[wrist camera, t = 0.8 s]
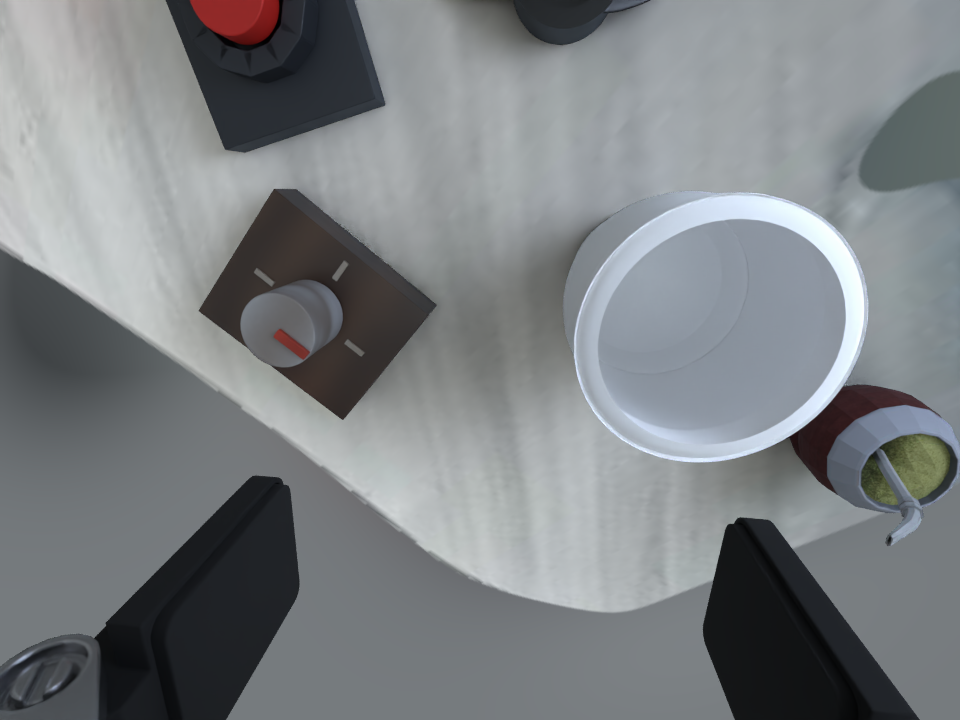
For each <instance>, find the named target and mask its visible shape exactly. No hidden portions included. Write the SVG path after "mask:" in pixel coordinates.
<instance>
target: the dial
mask: <svg viewBox="0 0 960 720" xmlns="http://www.w3.org/2000/svg"><path fill="white" fill-rule="evenodd" d="M342 321H343V313H342V308H341V305H340V302H339V300H338V299H337V297H336V296H335V294H334V293H333V292H332V291H331V290H330V289H329V288H328V287H326V286H325V285H323V284H321V283H319V282H316V281H313V280H298V281H295V282H292V283H290V284H287V285H284V286H282V287H279V288H277V289H274V290H271V291H269V292H266V293H263V294H261V295H258V296H256V297H255V298H253V299H252V300H251V301H250V302H249V303H248V304H247V305H246V307H245V308H244V310H243V313H242V316H241V323H240V326H241V333H242V337H243V339H244V342H245V344H246V345H247V347H248V348H249V350H250V351H251V352H252V353H253V354H254V355H255V356H256V357H257V358H258V359H260V360H261V361H263V362H265V363H267V364H269V365H272V366H276V367H292V366H296V365H298V364H300V363H302V362H303V361H305V360H306V359H307V358H309V357H310V356H311V355H313V354H314V353H315V352H317V351H318V350H319V349H321V348H322V347H323V346H325V345H326V344H327V343H329V342H330V341H331V340H333V339H334V338H335V337H336V336H337V334H338V333H339V331H340V329H341V326H342Z"/></svg>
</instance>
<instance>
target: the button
mask: <svg viewBox="0 0 960 720" xmlns="http://www.w3.org/2000/svg"><path fill="white" fill-rule="evenodd" d="M190 2H191V5H192V7H193V9H194V11H195V13H196V14H197V16H198V17H199V19H200V20H201V21H202V22H203V23H204V24H205V25H206V26H207V27H208V28H209V29H211V30H212V31H214V32H216V33H218V34H220V35H222V36H224V37H225V38H227V39H229V40H231V41H233V42H235V43H238V44H242V45H253V44H257V43H259V42H261V41H263V40H265V39H266V38H267V37H268V36H269V35H270V34H271V33H272V31H273V30H274V28H275V26H276V23H277V20H278V16H279V0H190Z"/></svg>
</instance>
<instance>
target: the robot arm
mask: <svg viewBox="0 0 960 720" xmlns="http://www.w3.org/2000/svg"><path fill="white" fill-rule="evenodd" d="M298 591H299V572H298V562H297V552H296V542H295V533H294V523H293V513H292V503H291V493H290V488H289V486H287V485H283V481H282V479H280V478H277V477H266V476H252V477H251V478H249V479H248V480H247V481H246V482H245V483H244V484H243V485H242V486H241V488H239V489H238V491H236V492H235V493H234V495H232V496H231V497H230V498H229V500H227V501H226V502H225V503H224V505H222V506H221V507H220V508H219V510H217V511H216V513H215V514H213V516H212V517H211V518H210V519H209V520H208V521H207V522H206V523H205V524H204V525H203V526H202V527H201V528H200V529H199V530H198V531H197V532H196V533H195V534H194V535H193V536H192V537H191V538H190V539H189V540H188V541H187V542H186V543H185V544H184V545H183V546H182V547H181V548H180V549H179V550H178V551H177V552H176V553H175V554H174V555H173V556H172V557H171V558H170V559H169V560H168V561H167V562H166V563H165V564H164V565H163V566H162V567H161V568H160V569H159V570H158V571H157V572H156V573H155V574H154V575H153V576H152V577H151V578H150V579H149V580H148V581H147V582H146V583H145V584H144V585H143V586H142V587H141V588H140V589H139V590H138V591H137V592H136V593H135V594H134V595H133V596H132V597H131V598H130V599H129V600H128V601H127V602H126V603H125V604H124V605H123V606H122V607H121V608H120V609H119V610H118V611H117V612H116V613H115V614H114V615H113V616H112V617H111V618H110V619H109V620H108V621H107V622H106V627H105V628H104V629H103V630H102V631H101V632H100V633H99V634H98V635H97V636H96V637H95V638H93V637H91V636H88V635H83V634H68V635H61V636H58V637H54V638H50V639H47V640H45V641H42V642H40V643H38V644H35V645H33V646H31V647H29V648H27V649H25V650H23V651H22V652H20V653H19V654H17V655H15V656H14V657H12V658H10V659H9V660H8V661H7V662H5V663H4V664H3V665H2V666H0V720H226V719H227V717H228V715H229V714H230V712H231V710H232V709H233V707H234V705H235V703H236V702H237V700H238V698H239V697H240V695H241V693H242V691H243V690H244V688H245V686H246V684H247V683H248V681H249V679H250V677H251V676H252V674H253V672H254V670H255V669H256V667H257V665H258V664H259V662H260V660H261V659H262V657H263V655H264V653H265V652H266V650H267V648H268V647H269V645H270V643H271V641H272V640H273V638H274V636H275V634H276V633H277V631H278V629H279V628H280V626H281V624H282V622H283V621H284V619H285V617H286V616H287V614H288V612H289V610H290V609H291V607H292V605H293V604H294V602H295V600H296V598H297V595H298ZM703 636H704V641H705V645H706V647H707V650H708V652H709V655H710V657H711V660H712V662H713V665H714V668H715V670H716V673H717V675H718V678H719V680H720V683H721V685H722V688H723V690H724V693H725V696H726V698H727V701H728V703H729V706H730V708H731V711H732V713H733V716H734V718H735V720H919V718H918V717H917V716H916V714H915V713H914V712H913V710H912V709H911V708H910V706H909V705H908V704H907V702H906V701H905V699H904V698H903V697H902V696H901V694H900V693H899V691H898V690H897V689H896V687H895V686H894V685H893V683H892V682H891V681H890V679H889V678H888V677H887V675H886V674H885V673H884V671H883V670H882V669H881V667H880V666H879V665H878V663H877V662H876V661H875V659H874V658H873V657H872V655H871V654H870V653H869V651H868V650H867V649H866V647H865V646H864V644H863V643H862V642H861V641H860V639H859V638H858V636H857V635H856V634H855V632H854V631H853V630H852V629H851V627H850V626H849V624H848V623H847V622H846V620H845V619H844V618H843V616H842V615H841V614H840V612H839V611H838V610H837V608H836V607H835V606H834V605H833V603H832V602H831V600H830V599H829V598H828V596H827V595H826V594H825V592H824V591H823V590H822V588H821V587H820V586H819V584H818V583H817V582H816V580H815V579H814V577H813V576H812V575H811V573H810V572H809V571H808V569H807V568H806V567H805V565H804V564H803V563H802V561H801V560H800V559H799V557H798V556H797V555H796V553H795V552H794V551H793V549H792V548H791V547H790V545H789V544H788V543H787V541H786V540H785V539H784V537H783V536H782V535H781V533H780V532H779V531H778V529H777V528H776V527H775V525H774V524H773V523H772V522H771V521H769V520H764V519H753V518H741V517H740V518H737V520H736V521H735V523H734V524H728V525H727V527H726V529H725V533H724V538H723V542H722V546H721V550H720V555H719V559H718V563H717V568H716V572H715V576H714V581H713V585H712V589H711V593H710V598H709V602H708V606H707V611H706V615H705V620H704V624H703Z"/></svg>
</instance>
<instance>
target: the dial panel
mask: <svg viewBox="0 0 960 720" xmlns="http://www.w3.org/2000/svg"><path fill="white" fill-rule="evenodd" d="M298 280H313V281H316V282H319V283H321V284H323V285H325V286H326V287H328V288H329V289H330V290H331V291H332V292H333V293H334V294H335V296H336V297H337V299H338V300H339V302H340V305H341V308H342V313H343V321H342V326H341V329H340V331H339V333H338V334H337V336H336V337H335V338H334V339H333V340H331V341H330V342H329V343H327V344H326V345H325V346H323V347H322V348H321V349H319V350H318V351H317V352H315V353H314V354H313V355H311V356H310V357H309V358H307V359H306V360H305V361H303V362H302V363H300V364H298V365H296V366H292V367H276V366H272V365H271V366H272V367H273V368H275V369H276V370H277V371H279V372H280V373H281V374H283V375H284V376H285V377H287V378H288V379H289V380H291V381H292V382H293V383H295V384H296V385H297V386H298V387H300V388H301V389H302V390H304V391H305V392H306V393H308V394H309V395H310V396H312V397H313V398H314V399H316V400H317V401H318V402H320V403H321V404H322V405H324V406H325V407H326V408H328V409H329V410H330V411H332V412H333V413H334V414H335V415H337V416H338V417H339V418H341V419H342V420H344V418H345V417H346V416H347V415H348V413H349V412H350V411H351V410H352V409H353V407H354V406H355V405H356V404H357V402H358V401H359V400H360V399H361V398H362V396H363V395H364V394H365V393H366V391H367V390H368V389H369V388H370V387H371V385H372V384H373V383H374V382H375V380H376V379H377V378H378V377H379V376H380V374H381V373H382V372H383V371H384V369H385V368H386V367H387V366H388V364H389V363H390V362H391V361H392V360H393V358H394V357H395V356H396V355H397V353H398V352H399V351H400V350H401V349H402V347H403V346H404V345H405V344H406V342H407V341H408V340H409V339H410V337H411V336H412V335H413V334H414V333H415V331H416V330H417V329H418V328H419V326H420V325H421V324H422V323H423V322H424V320H425V319H426V318H427V317H428V315H429V314H430V313H431V312H432V311H433V309H434V308H435V307H436V304H435V303H434V302H432V301H431V300H430V299H429V298H427V297H426V296H425V295H424V294H423V293H421V292H420V291H419V290H418V289H417V288H415V287H414V286H413V285H412V284H410V283H409V282H408V281H407V280H406V279H404V278H403V277H402V276H401V275H400V274H398V273H397V272H396V271H395V270H393V269H392V268H391V267H390V266H389V265H387V264H386V263H385V262H384V261H383V260H381V259H380V258H379V257H378V256H376V255H375V254H374V253H373V252H372V251H370V250H369V249H368V248H367V247H366V246H364V245H363V244H362V243H361V242H359V241H358V240H357V239H356V238H355V237H353V236H352V235H351V234H350V233H349V232H347V231H346V230H345V229H344V228H342V227H341V226H340V225H339V224H338V223H336V222H335V221H334V220H333V219H331V218H330V217H329V216H328V215H327V214H325V213H324V212H323V211H322V210H321V209H319V208H318V207H317V206H316V205H314V204H313V203H312V202H311V201H310V200H308V199H307V198H306V197H305V196H304V195H302V194H301V193H300V192H299V191H297V190H296V189H274V190H273V191H272V193H271V195H270V196H269V198H268V199H267V201H266V203H265V204H264V206H263V208H262V209H261V211H260V212H259V214H258V216H257V217H256V219H255V220H254V222H253V224H252V225H251V227H250V229H249V230H248V232H247V233H246V235H245V237H244V238H243V240H242V241H241V243H240V245H239V246H238V248H237V250H236V251H235V253H234V254H233V256H232V258H231V259H230V261H229V262H228V264H227V266H226V267H225V269H224V270H223V272H222V274H221V275H220V277H219V279H218V280H217V282H216V283H215V285H214V287H213V288H212V290H211V291H210V293H209V295H208V296H207V298H206V300H205V301H204V303H203V304H202V306H201V308H200V309H199V312H201V313H202V314H203V315H205V316H206V317H207V318H209V319H210V320H211V321H213V322H214V323H215V324H217V325H218V326H219V327H221V328H222V329H223V330H224V331H226V332H227V333H228V334H230V335H231V336H232V337H234V338H235V339H236V340H238V341H239V342H240V343H242V344H243V345H244V346H246V347H247V345H246V344H245V342H244V339H243V337H242V333H241V326H240V323H241V316H242V313H243V310H244V308H245V307H246V305H247V304H248V303H249V302H250V301H251V300H252V299H253V298H255V297H256V296H258V295H261V294H263V293H266V292H269V291H271V290H274V289H277V288H279V287H282V286H284V285H287V284H290V283H292V282H295V281H298ZM247 348H248V347H247ZM248 349H249V348H248Z"/></svg>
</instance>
